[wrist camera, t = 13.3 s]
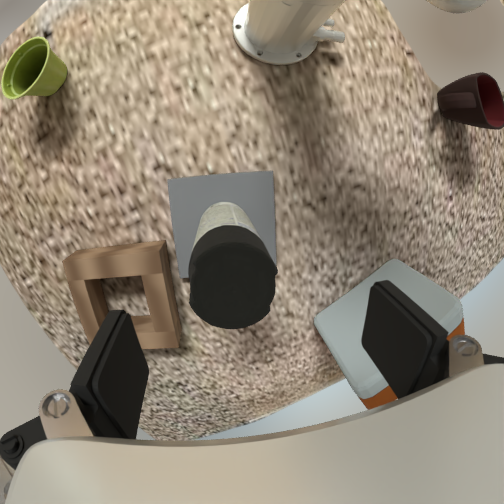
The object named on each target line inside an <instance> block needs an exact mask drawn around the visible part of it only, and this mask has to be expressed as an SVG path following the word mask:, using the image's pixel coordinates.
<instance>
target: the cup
mask: <svg viewBox="0 0 504 504" xmlns="http://www.w3.org/2000/svg"><path fill="white" fill-rule="evenodd" d="M437 95H438V104H439V107H440V110H441V112H442V114H443V116H444V117H445V118H447V119H450V120H453V121H456V122H459V123H463V124H467V125H471V126H475V127H480V128H486V129H501V128H503V127H504V101H503V98H502V94H501V91H500V89H499V86H498V84H497V82H496V80H495V79H494V78H492V77H491V76H490V75H488V74H486V73H476V74H472V75H468V76H465V77H463V78H461V79H458V80H456V81H454V82H452V83H450V84H449V85H447V86H445V87H444V88H443V89H441V90H440V91H439V92H438V93H437Z"/></svg>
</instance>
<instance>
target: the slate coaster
mask: <svg viewBox="0 0 504 504" xmlns="http://www.w3.org/2000/svg"><path fill="white" fill-rule="evenodd" d="M168 191H169V200H170V210H171V218H172V226H173V234H174V241H175V248H176V255H177V262H178V268H179V275H180V278H189V275H188V268H189V261H190V257H191V253H192V249H193V245H194V242H195V238H196V234H197V231H198V227H199V224H200V220H201V217H202V215H203V214H204V212H205V211H206V210H207V209H208V208H209V207H210V206H212V205H214V204H216V203H219V202H230V203H234V204H236V205H238V206H239V207H240V208H242V209H243V210H244V212H245V213H246V214H247V216H248V218H249V219H250V221H251V223H252V224H253V226H254V228H255V229H256V231H257V233H258V234H259V236H260V238H261V239H262V241H263V243H264V244H265V246H266V248H267V250H268V252H269V254H270V256H271V258H272V260H273V262H274V263H275V265H276V234H275V206H274V182H273V171H252V172H237V173H224V174H212V175H201V176H192V177H182V178H174V179H168Z"/></svg>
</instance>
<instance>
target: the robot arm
mask: <svg viewBox="0 0 504 504" xmlns="http://www.w3.org/2000/svg"><path fill="white" fill-rule="evenodd" d="M345 1H346V0H250V1H249V3H247V4H246V5H244V6H243V7H242V8H240V9H239V11H238V12H237V13H236V15H235V17H234V20H233V25H232V32H233V36H234V39H235V40H236V42H237V44H238V45H239V47H240V48H241V49H242V50H243V51H244V52H246V53H247V54H248V55H250V56H251V57H253V58H254V59H257V60H259V61H262V62H265V63H269V64H274V65H289V64H294V63H297V62H300V61H302V60H304V59H305V58H307V57H308V56H309V55H310V54H311V53H312V52H313V51H314V49H315V48H316V45H317V43H318V41H323V40H330V41H333V42H339V43H343V42H344V40H345V34H344V33H343V32H340V31H334V30H326V29H324V27H321V26H322V25H324V26H328V27H333V26H334V20H333V19H328V18H329V17H330V16H331V15H332V14H333V13H334V12H335V11H336V10H337V9H338V8H339V7H340V6H341V5H342V4H343V3H344V2H345ZM426 1H427V2H429V3H430V4H432V5H434V6H435V7H437V8H439V9H441V10H444V11H447V12H450V13H466V12H470V11H472V10H474V9H477V8H478V7H480V6H481V5H482V4H484V3H485V2H486V1H488V0H426ZM237 28H239V29H237ZM258 54H260V55H261V56H259V55H258ZM296 56H298V57H299V58H298V57H296ZM448 333H449V332H448V331H447V330H446V329H445V328H443V327H442V326H441V325H440V324H439V323H438V322H437V321H436V320H435V319H433V318H432V317H431V316H430V315H429V314H428V313H427V312H426V311H425V310H423V309H422V308H421V307H420V306H419V305H418V304H416V303H415V302H414V301H413V300H412V299H411V298H410V297H408V296H407V295H406V294H405V293H404V292H402V291H401V290H400V289H399V288H398V287H397V286H395V285H394V284H393V283H392V282H391V281H389V280H383V281H378V282H375V283H374V285H373V286H372V287H371V288H370V293H369V299H368V305H367V311H366V317H365V322H364V328H363V333H362V338H361V343H362V346H363V348H364V350H365V351H366V352H367V354H368V355H369V357H370V358H371V360H372V361H373V363H374V364H375V365H376V367H377V368H378V370H379V371H380V373H381V374H382V376H383V377H384V379H385V380H386V382H387V383H388V384H389V386H390V387H391V389H392V390H393V392H394V393H395V395H396V396H397V398H398V400H395V401H392V402H390V403H387V404H384V405H381V406H379V407H376V408H373V409H370V410H367V411H364V412H360V413H357V414H354V415H351V416H347V417H344V418H341V419H337V420H333V421H329V422H325V423H321V424H317V425H312V426H308V427H304V428H298V429H293V430H288V431H283V432H277V433H271V434H264V435H256V436H248V437H239V438H229V439H216V440H193V441H161V440H136V435H137V429H138V424H139V419H140V413H141V408H142V403H143V399H144V394H145V389H146V385H147V380H148V376H149V368H148V365H147V362H146V359H145V357H144V354H143V351H142V348H141V346H140V343H139V340H138V337H137V334H136V331H135V328H134V325H133V322H132V319H131V316H130V314H129V313H127V314H126V312H125V311H124V310H111V311H109V312H108V314H107V316H106V317H105V319H104V321H103V323H102V324H101V326H100V328H99V330H98V332H97V333H96V335H95V337H94V339H93V341H92V343H91V344H90V346H89V348H88V350H87V352H86V354H85V356H84V358H83V360H82V362H81V364H80V366H79V368H78V370H77V372H76V374H75V376H74V378H73V380H72V382H71V387H70V390H69V391H67V390H63V389H58V390H54V391H51V392H49V393H48V394H46V395H45V396H44V397H43V398H42V400H41V401H40V404H39V408H38V409H39V415H40V416H38V417H36V418H34V419H32V420H30V421H28V422H26V423H24V424H23V425H20V426H19V427H17V428H15V429H13V430H11V431H9V432H7V433H6V434H4V435H3V436H2V438H1V440H0V504H504V358H502V357H497V356H492V355H487V354H483V353H482V348H481V345H480V344H479V342H478V341H477V340H475V339H474V338H472V337H470V336H467V335H455V336H453V337H452V338H451V339H450V341H448V340H447V336H448Z"/></svg>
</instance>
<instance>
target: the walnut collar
mask: <svg viewBox="0 0 504 504" xmlns="http://www.w3.org/2000/svg"><path fill="white" fill-rule="evenodd" d="M62 262H63V266H64V270H65V273H66V277H67V281H68V284H69V287H70V291H71V294H72V297H73V300H74V303H75V306H76V309H77V312H78V315H79V318H80V321H81V323H82V326H83V329H84V331H85V334H86V336H87V339H88V341H89V344H91V343H92V341H93V339H94V337H95V335H96V333H97V332H98V330H99V328H100V326H101V324H102V323H103V321H104V319H105V317H106V316H107V314H108V312H109V310H108V307H107V304H106V300H105V297H104V294H103V290H102V286H101V283H100V279H101V278H113V277H125V276H137V275H141V277H142V281H143V286H144V290H145V295H146V299H147V303H148V307H149V311H150V315H147V316H131V319H132V322H133V325H134V328H135V331H136V334H137V337H138V340H139V343H140V346H141V348H142V349H159V348H179V344H180V337H181V330H182V328H181V324H180V319H179V314H178V309H177V304H176V299H175V294H174V289H173V283H172V278H171V272H170V266H169V260H168V254H167V247H166V240H162V241H153V242H144V243H135V244H126V245H117V246H108V247H100V248H92V249H83V250H77V251H75V252H74V253H73V254H71V255H70V256H69V257H67V258H66V259H65V260H63V261H62Z"/></svg>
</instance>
